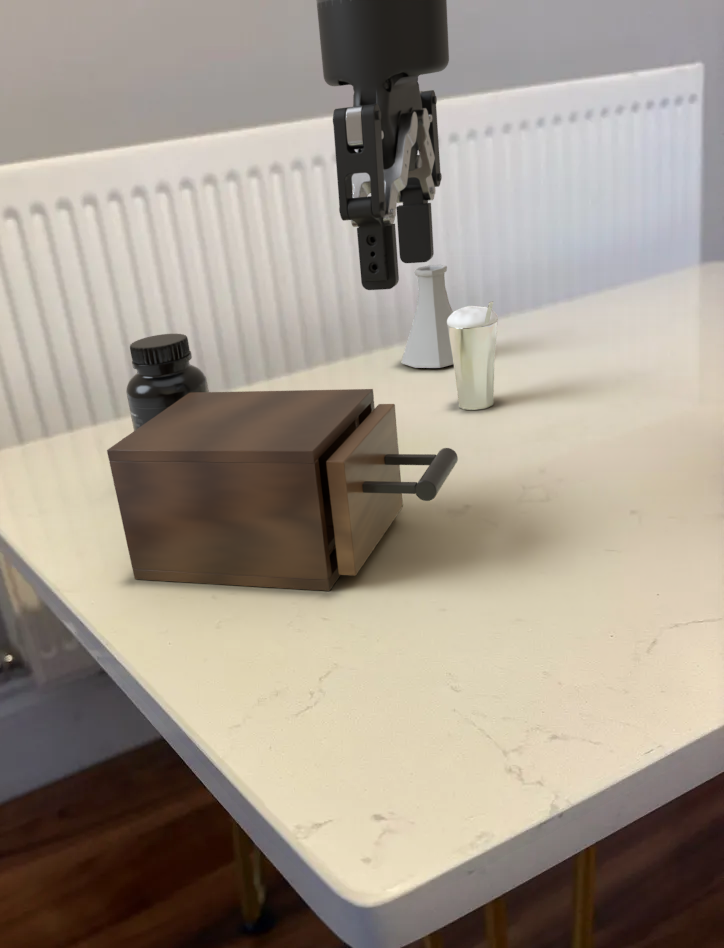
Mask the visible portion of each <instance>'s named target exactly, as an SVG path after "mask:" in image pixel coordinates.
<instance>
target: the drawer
mask: <svg viewBox="0 0 724 948" xmlns="http://www.w3.org/2000/svg"><path fill="white" fill-rule="evenodd" d="M399 451H400V450H399V439H398V427H397V414H396V405H395V403H378V404H377V406H376V407H375V409H374V410H373V411H372V412H371V413H370V414H369V415H368V416H367V418H366V419H365V420H364V421H363V422H362V423H361V424H360V425H359V416H358V417H357V418H356V419H355V420H354V421H353V422H352V423H351V424H350V425H349V427H348V428H347V429H346V430H345V431H344V432H343V433H342V434H341V435H340V436H339V437H338V438H337V439H336V440H335V441H334V442H333V444H332V445H331V446H330V447H329V448H328V449H327V450H326V451H325V452H324V453H323V454H322V455H321V456H320V457H319V458H318V461H319V470H320V478H321V486H322V495H323V503H324V512H325V520H326V529H327V537H328V546H329V554H331V553H332V552H333V550H334V549H335V548H336V554H337V563H338V572H339V575H340V576H353V577H354V576H357V574H358V573H359V572H360V570H361V569H362V567H363V566H364V564H365V563H366V561H367V560H368V558H369V557H370V555H371V554H372V552H373V551H374V550H375V548H376V547H377V545H378V544H379V543H380V541H381V540H382V538H383V536H384V535H385V533H386V532H387V531H388V529H389V528H390V527H391V525H392V523H393V522H394V520H395V519H396V517H397V516H398V515H399V513H400V512H401V510H402V509H403V507H404V500H403V494H405V495H406V494H407V495H415V496H416V497H417V498H418V499H419V500H421V501H424V502H430V501H433V500H434V499H435V498H436V496H437V495H438V493H439V492H440V490H441V489H442V487H443V485H444V483H445V482H446V480H447V479H448V477H449V475H450V474H451V472H452V471H453V469H454V468H455V466H456V464H457V463H458V460H459V459H458V454H457V452H456V451H455V450H454V449H452V448H450V447H444V448H441V449H440V450H439V451H438V453H437V454H435V453H434V454H433V453H432V454H428V453H427V454H426V453H424V454H423V453H422V454H420V453H417V454H416V453H399ZM401 466H428V467H427V468H426V470H425V471H424V472H423V474H422V476H421V477H420V479H419V480H418V482H417V481H402V478H401V477H402V476H401Z"/></svg>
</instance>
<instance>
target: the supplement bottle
mask: <svg viewBox="0 0 724 948" xmlns="http://www.w3.org/2000/svg"><path fill="white" fill-rule="evenodd" d="M129 351H130V355H131V365H132V368H133V369H134V370H135V371H136V373H135V374H134V375H133V376H132V377H131V378H130V379H129V381H128V383H127V385H126V398H127V399H126V400H127V403H128V409H129V413H130V417H131V422H132V428H133V432H134V431H135V430H137V429H138V428H139V427H141V426H142V425H144V424H145V423H147V422H148V421H149V420H151V419H152V418H154V417H155V416H157V415H158V414H160V413H161V412H162V411H164V410H165V409H167V408H168V407H170V406H171V405H172V404H174V403H175V402H177V401H178V400H180V399H181V398H182V397H184V396H185V395H187V394H188V393H195V392H210V391H209V385H208V384H209V383H208V380H207V376H206V375H205V373H204V372H203V370H201V369H200V367H197V366H195V365H193V364H190V361H191V360H192V358H193V356H192V351H191V350H190V343H189V338H188V336H187V335H186V334H183V333H163V334H155V335H150V336H147V337H142V338H140V339H137V340H135V341H133V342H131V343H130V344H129Z"/></svg>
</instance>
